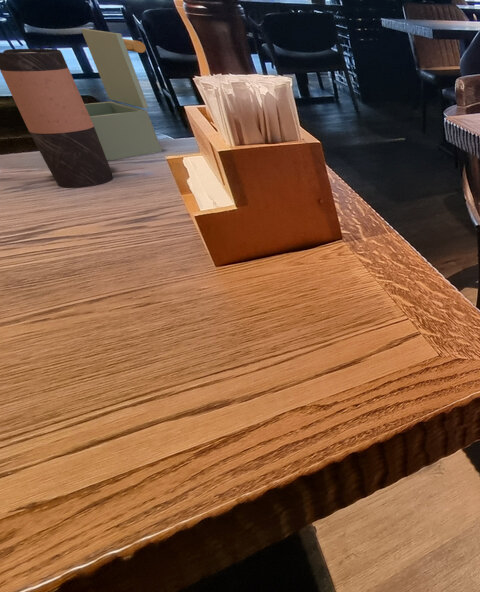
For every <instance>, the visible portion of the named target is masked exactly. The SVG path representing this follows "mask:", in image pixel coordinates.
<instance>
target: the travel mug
mask: <svg viewBox="0 0 480 592" xmlns="http://www.w3.org/2000/svg"><path fill="white" fill-rule="evenodd" d="M0 73H1V74H2V77H3V79H4V82H5V84H6V86H7V88H8V90H9V92H10V94H11V96H12V99H13V100H14V103H15V104H16V107H17V108H18V111H19V113H20V116H21V118H22V119H23V122H24V124H25V126H26V128H27V130H28V132H29V134H30V136H31V138H32V140H33V142H34V144H35V145H36V147H37V149H38V151H39V153H40V155H41V157H42V158H43V161H44V162H45V164H46V166H47V168H48V170H49V172H50V173H51V175H52V177H53V180H54V181H55V183H56V185H58V187H60V188H84V187H91V186H97V185H102V184H105V183H108V182H110V181H112V180H113V179H114V175H113V173H112V170H111V167H110V164H109V162H108V161H109V160H108V161H107V159H106V156H105V154H104V151H103V148H102V146H101V143H100V141H99V138H98V135H97V133H96V130H95V128H94V125H93V123H92V121H91V118H90V116H89V114H88V112H87V109H86V107H85V105H84V104H85V102H84V100H83V98H82V96H81V94H80V91H79V89H78V87H77V84H76V81H75V79H74V78H73V75H72V73H71V71H70V69H69V66H68V63H67V62H66V59H65V57H64V54H63V53H62V51H61V50H60V49H57V48H10V49H4V50H3V51H2V52H0Z"/></svg>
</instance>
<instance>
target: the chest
mask: <svg viewBox="0 0 480 592" xmlns="http://www.w3.org/2000/svg"><path fill="white" fill-rule="evenodd" d="M84 105H85V107H86V109H87V112H88V114H89V116H90V118H91V121H92V123H93V125H94V128H95V130H96V133H97V135H98V138H99V141H100V143H101V146H102V148H103V151H104V154H105V156H106V159H107V161H113V160H119V159H125V158H133V157H137V156H143V155H149V154H155V153H156V154H157V153H162V152H163V150H162V146H161V144H160V142H159V138H158V136H157V134H156V131H155V128H154V126H153V123H152V120H151V117H150V115H149V112H148V110H145V109H143V108H139V107H136V106H132V105H128V104H125V103H121V102H117V101H114V100H111V101H103V102H102V101H101V102H92V103H84Z"/></svg>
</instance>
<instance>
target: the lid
mask: <svg viewBox="0 0 480 592" xmlns="http://www.w3.org/2000/svg"><path fill="white" fill-rule="evenodd" d="M80 30H81V33H82V35H83V38H84V40H85V43H86V45H87V47H88V50H89V53H90V55H91V58H92V61H93V63H94V65H95V68H96V70H97V73H98V75H99V78H100V81H101V83H102V85H103V87H104V90H105V92H106V95H107V98H108V99H109V100H111V101H114V102H117V103H121V104H125V105H128V106H132V107H136V108H139V109H149V105H148V103H147V99H146V96H145V95H144V91H143V89H142V86H141V84H140V80H139V77H138V75H137V72H136V71H135V68H134V65H133V61H132V60H131V56H130V54H129V52H132V53H133V52H134V53H140V54H143V53H145V52H146V49H147V48H146V47H147V46H146V45H145V43H144V42H143V41H140V40H135V39H127V38H124V37H123V35H122V33H119V32H111V31H103V30H97V29H89V28H80Z"/></svg>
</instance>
